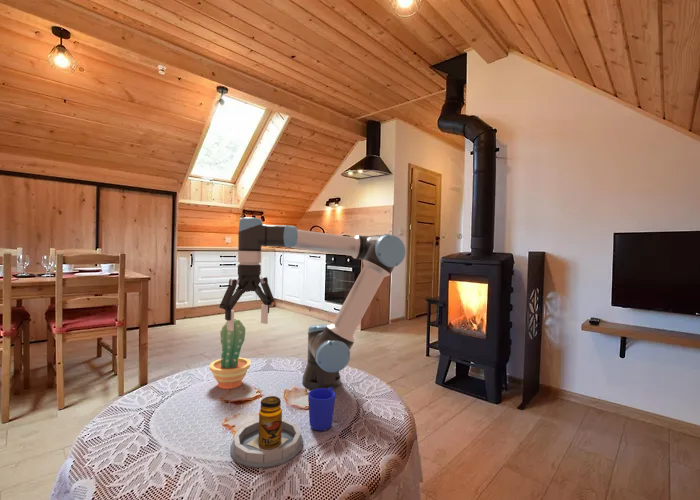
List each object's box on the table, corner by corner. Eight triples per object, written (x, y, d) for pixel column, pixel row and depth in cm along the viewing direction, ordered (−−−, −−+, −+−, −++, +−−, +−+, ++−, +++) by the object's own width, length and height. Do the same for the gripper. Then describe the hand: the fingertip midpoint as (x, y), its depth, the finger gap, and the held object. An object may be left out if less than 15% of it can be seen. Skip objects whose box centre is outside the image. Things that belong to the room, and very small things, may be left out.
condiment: (271, 454, 88) (272, 407, 88) (246, 444, 92) (247, 400, 92) (288, 440, 95) (289, 397, 95) (264, 431, 99) (265, 390, 99)
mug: (342, 416, 110) (343, 385, 110) (328, 436, 99) (329, 401, 99) (319, 412, 113) (320, 381, 113) (302, 430, 102) (303, 396, 101)
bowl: (293, 422, 106) (293, 412, 106) (310, 458, 88) (311, 446, 88) (228, 433, 99) (228, 423, 99) (233, 475, 81) (233, 462, 81)
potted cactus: (259, 382, 136) (260, 319, 135) (226, 396, 123) (227, 326, 122) (233, 373, 144) (234, 314, 144) (199, 385, 131) (201, 320, 131)
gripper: (271, 262, 128) (270, 319, 128) (208, 264, 108) (207, 331, 108) (285, 263, 123) (283, 322, 124) (222, 265, 103) (220, 335, 104)
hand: (248, 326), depth 116 cm, fingers open, 13 cm apart
